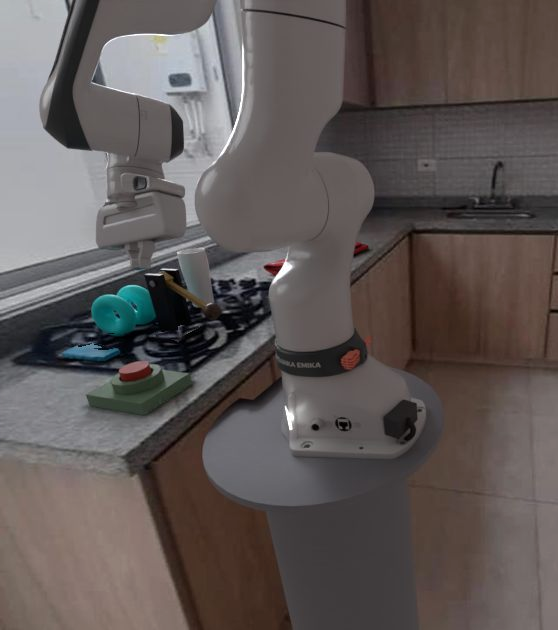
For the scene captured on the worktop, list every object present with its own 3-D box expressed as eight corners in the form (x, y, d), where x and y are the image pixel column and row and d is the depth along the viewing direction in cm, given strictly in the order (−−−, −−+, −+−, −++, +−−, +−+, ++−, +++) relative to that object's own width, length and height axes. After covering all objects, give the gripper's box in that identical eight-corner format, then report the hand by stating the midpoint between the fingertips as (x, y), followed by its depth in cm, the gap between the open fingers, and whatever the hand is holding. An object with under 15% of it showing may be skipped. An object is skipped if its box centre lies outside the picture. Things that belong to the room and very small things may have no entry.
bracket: (206, 328, 103) (192, 267, 98) (176, 344, 95) (158, 278, 90) (179, 325, 106) (163, 265, 100) (148, 341, 98) (129, 277, 92)
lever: (222, 318, 97) (226, 306, 96) (211, 325, 94) (215, 312, 92) (163, 280, 98) (166, 267, 97) (150, 285, 95) (152, 272, 93)
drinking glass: (213, 308, 116) (200, 252, 111) (186, 310, 116) (172, 254, 110) (220, 300, 123) (208, 247, 117) (195, 302, 122) (182, 248, 116)
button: (157, 371, 76) (155, 362, 75) (135, 384, 72) (132, 374, 71) (138, 368, 77) (135, 359, 76) (115, 381, 73) (112, 371, 73)
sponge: (92, 362, 87) (120, 347, 91) (58, 353, 92) (87, 339, 96) (95, 368, 87) (123, 353, 92) (61, 359, 92) (90, 345, 97)
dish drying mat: (369, 249, 173) (369, 240, 172) (300, 278, 139) (298, 267, 138) (337, 247, 180) (336, 238, 178) (263, 274, 146) (261, 263, 144)
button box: (192, 383, 78) (187, 363, 77) (145, 415, 70) (137, 393, 68) (141, 376, 82) (135, 357, 81) (89, 406, 73) (81, 384, 72)
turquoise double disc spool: (96, 338, 101) (82, 297, 97) (128, 321, 110) (116, 283, 106) (135, 338, 99) (122, 297, 96) (165, 321, 109) (154, 283, 105)
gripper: (83, 197, 80) (86, 273, 79) (156, 175, 71) (160, 261, 71) (119, 205, 85) (123, 276, 85) (191, 185, 77) (195, 264, 76)
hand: (140, 269), depth 78 cm, fingers closed
